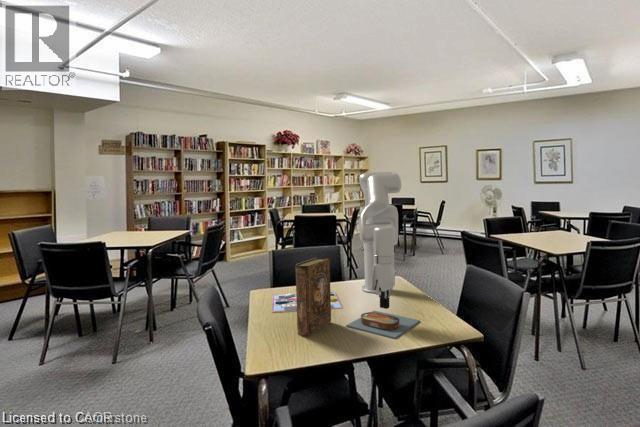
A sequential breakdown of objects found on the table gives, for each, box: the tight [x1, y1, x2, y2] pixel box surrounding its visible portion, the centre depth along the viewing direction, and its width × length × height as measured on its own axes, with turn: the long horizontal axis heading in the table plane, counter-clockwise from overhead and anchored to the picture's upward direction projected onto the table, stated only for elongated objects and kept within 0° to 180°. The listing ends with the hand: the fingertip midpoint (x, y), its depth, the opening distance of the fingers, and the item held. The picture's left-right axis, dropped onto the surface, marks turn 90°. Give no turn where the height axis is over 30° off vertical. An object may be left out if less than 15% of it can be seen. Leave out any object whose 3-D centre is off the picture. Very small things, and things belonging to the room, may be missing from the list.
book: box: [295, 257, 332, 338], centre depth 139 cm, size 16×6×25 cm, turn 150°
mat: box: [346, 310, 421, 340], centre depth 142 cm, size 20×20×1 cm
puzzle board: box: [271, 290, 344, 314], centre depth 172 cm, size 30×23×3 cm
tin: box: [360, 311, 400, 330], centre depth 140 cm, size 15×3×8 cm
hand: (384, 307), depth 143 cm, fingers closed
